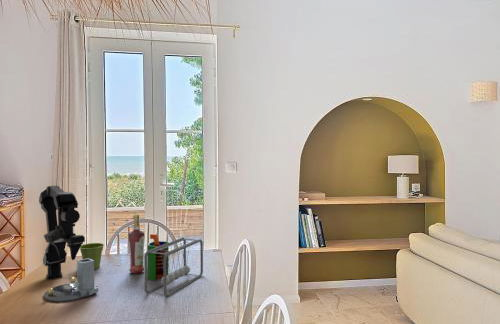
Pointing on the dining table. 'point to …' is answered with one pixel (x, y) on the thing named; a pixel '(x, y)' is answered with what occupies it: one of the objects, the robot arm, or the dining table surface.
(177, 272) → the newton's cradle
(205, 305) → the dining table surface
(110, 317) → the dining table surface
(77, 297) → the disc
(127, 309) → the dining table surface
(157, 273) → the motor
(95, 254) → the plant pot
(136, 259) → the liquor
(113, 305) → the dining table surface
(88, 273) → the square pipe section
